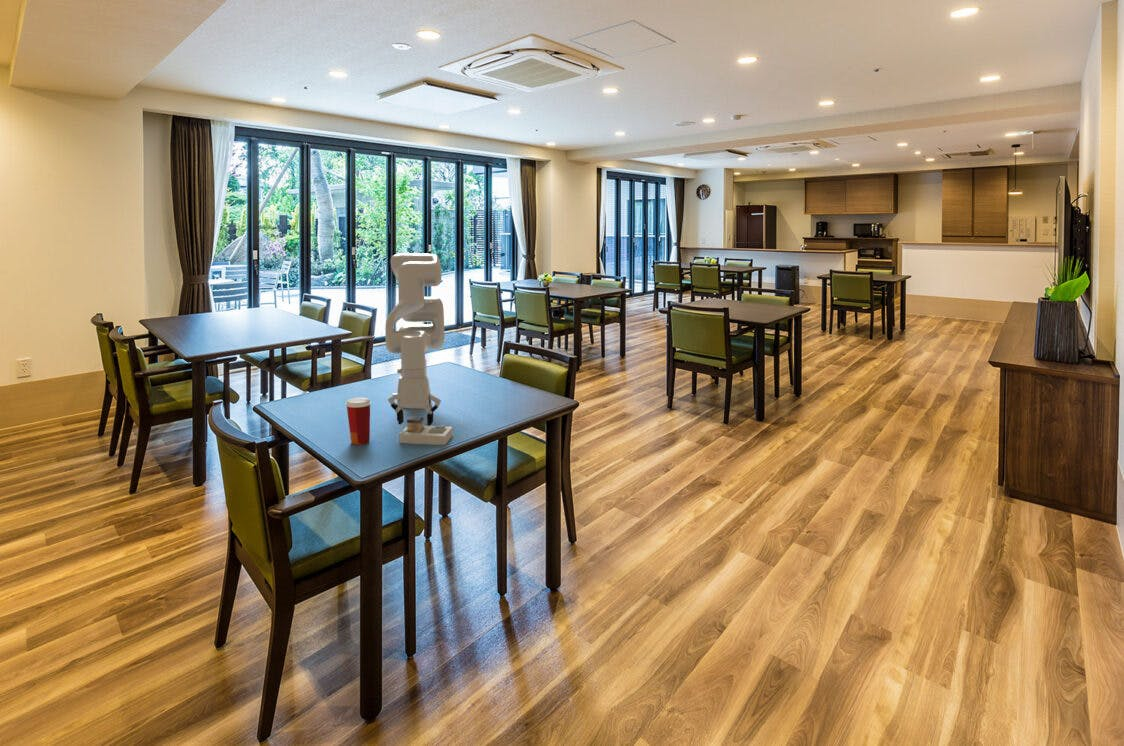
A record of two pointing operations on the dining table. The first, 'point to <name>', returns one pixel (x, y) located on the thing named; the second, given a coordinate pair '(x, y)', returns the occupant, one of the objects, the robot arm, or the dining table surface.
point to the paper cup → (359, 420)
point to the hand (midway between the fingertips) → (415, 423)
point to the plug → (415, 424)
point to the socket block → (427, 435)
